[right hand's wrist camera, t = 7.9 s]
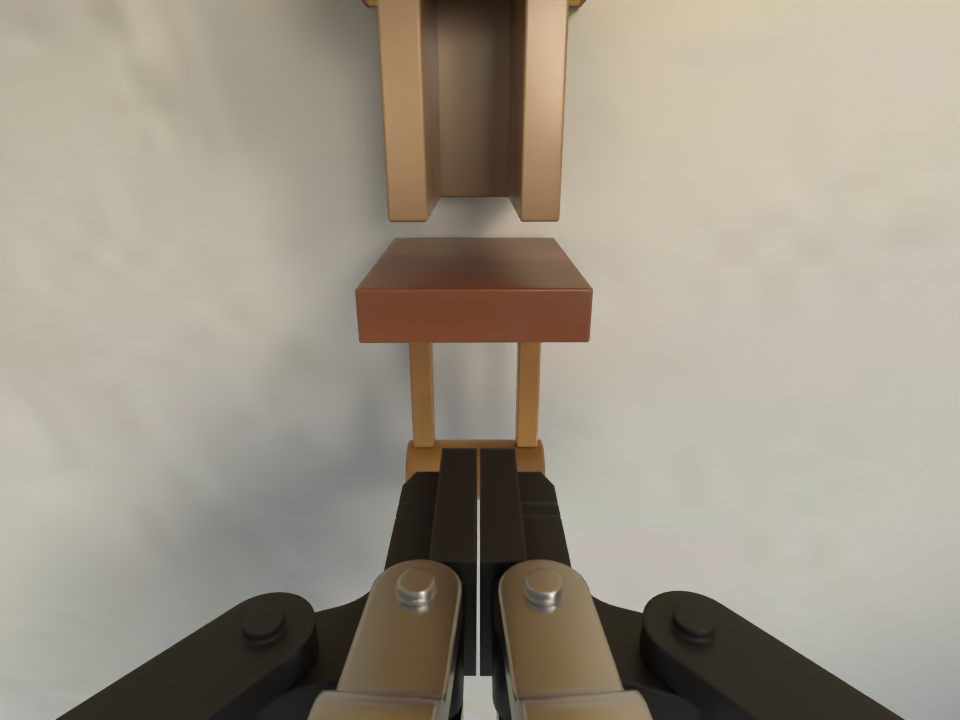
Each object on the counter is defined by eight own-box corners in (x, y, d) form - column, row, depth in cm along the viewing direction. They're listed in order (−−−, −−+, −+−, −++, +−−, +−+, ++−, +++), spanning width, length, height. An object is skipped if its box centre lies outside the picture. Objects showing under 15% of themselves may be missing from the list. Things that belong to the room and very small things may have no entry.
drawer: (545, 444, 21) (574, 571, 15) (405, 444, 21) (375, 572, 15) (584, -469, 13) (679, -1001, 7) (358, -470, 13) (256, -1006, 7)
